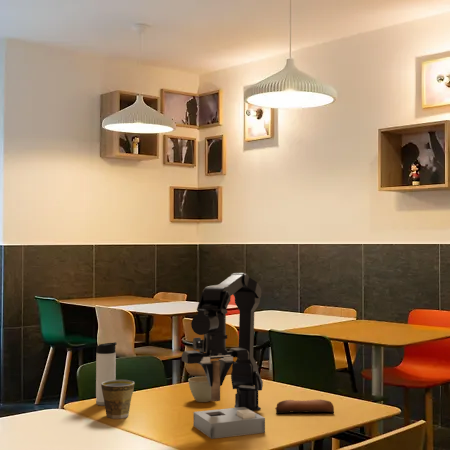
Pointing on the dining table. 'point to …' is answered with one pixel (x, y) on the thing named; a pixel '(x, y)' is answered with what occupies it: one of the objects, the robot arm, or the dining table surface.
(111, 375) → the travel mug
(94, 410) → the dining table surface
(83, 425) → the dining table surface
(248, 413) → the on button
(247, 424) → the panel
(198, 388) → the flower pot
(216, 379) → the tan rounded rod
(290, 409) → the sunglasses case
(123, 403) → the ceramic cup
